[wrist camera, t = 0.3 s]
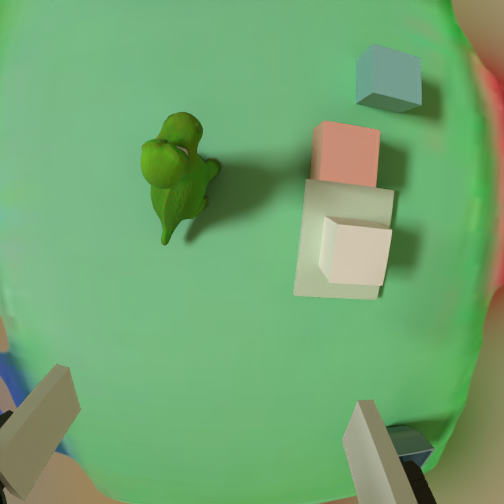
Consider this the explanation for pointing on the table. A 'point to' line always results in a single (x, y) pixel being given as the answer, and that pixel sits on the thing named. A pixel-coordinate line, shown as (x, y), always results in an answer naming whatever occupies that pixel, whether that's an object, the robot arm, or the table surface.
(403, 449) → the flower pot
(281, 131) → the table surface
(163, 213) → the toy
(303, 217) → the plate
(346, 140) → the brick coral
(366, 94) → the brick teal
